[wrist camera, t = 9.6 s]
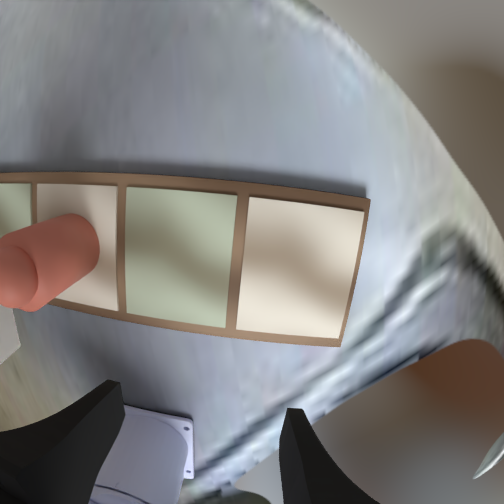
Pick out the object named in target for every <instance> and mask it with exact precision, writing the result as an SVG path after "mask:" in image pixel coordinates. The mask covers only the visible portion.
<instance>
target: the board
mask: <svg viewBox="0 0 504 504" xmlns="http://www.w3.org/2000/svg"><path fill="white" fill-rule="evenodd" d="M370 201H371V199H368V198H363V197H356V196H350V195H344V194H337V193H331V192H324V191H317V190H309V189H302V188H294V187H286V186H278V185H270V184H261V183H252V182H242V181H232V180H222V179H210V178H198V177H185V176H170V175H154V174H134V173H108V172H9V173H0V239H1V238H2V237H3V236H4V235H5V234H8V233H10V232H13V231H16V230H19V229H22V228H25V227H28V226H30V225H33V224H36V223H39V222H43V221H46V220H49V219H52V218H55V217H58V216H61V215H65V214H69V213H73V214H77V215H80V216H82V217H84V218H85V219H86V220H87V221H88V222H89V223H90V224H91V225H92V226H93V228H94V230H95V231H96V234H97V236H98V240H99V245H100V255H99V259H98V262H97V265H96V266H95V268H94V269H93V270H92V271H91V272H90V273H89V274H87V275H86V276H84V277H83V278H81V279H80V280H79V281H77V282H76V283H74V284H73V285H72V286H70V287H69V288H67V289H66V290H65V291H63V292H62V293H60V294H59V295H58V296H56V297H55V298H54V299H52V300H51V301H49V302H48V303H47V304H50V305H54V306H58V307H62V308H66V309H71V310H75V311H79V312H84V313H88V314H93V315H97V316H102V317H107V318H112V319H117V320H122V321H127V322H132V323H137V324H143V325H149V326H154V327H160V328H166V329H172V330H179V331H185V332H192V333H199V334H206V335H213V336H221V337H229V338H237V339H246V340H255V341H264V342H275V343H286V344H298V345H311V346H327V347H340V346H341V342H342V338H343V335H344V331H345V327H346V323H347V319H348V315H349V310H350V306H351V302H352V297H353V293H354V289H355V284H356V279H357V274H358V270H359V265H360V260H361V254H362V249H363V244H364V238H365V232H366V227H367V221H368V214H369V208H370Z"/></svg>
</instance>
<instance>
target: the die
mask: <svg viewBox="0 0 504 504" xmlns="http://www.w3.org/2000/svg"><path fill="white" fill-rule="evenodd" d="M20 347H21V344H20V340H19V336H18V332H17V327H16V323H15V318H14V313H13V308H7V307H4V306H2V305H0V364H1V363H3V362H4V361H5V360H6V359H7V358H8V357H9V356H10V355H12V354H13V353H14V352H15V351H16V350H17V349H18V348H20Z"/></svg>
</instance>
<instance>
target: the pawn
mask: <svg viewBox="0 0 504 504" xmlns="http://www.w3.org/2000/svg"><path fill="white" fill-rule="evenodd" d="M99 255H100V245H99V240H98V236H97V234H96V231H95V230H94V228H93V226H92V225H91V224H90V223H89V222H88V221H87V220H86V219H85V218H84V217H82V216H80V215H77V214H73V213H69V214H65V215H61V216H58V217H55V218H52V219H49V220H46V221H43V222H39V223H36V224H33V225H30V226H28V227H25V228H22V229H19V230H16V231H13V232H10V233H8V234H5V235H4V236H3V237H2V238H1V239H0V305H2V306H4V307H7V308H19V309H21V310H24V311H27V312H33V311H37V310H39V309H40V308H41V307H43V306H44V305H45V304H47V303H48V302H49V301H51V300H52V299H54V298H55V297H56V296H58V295H59V294H60V293H62V292H63V291H65V290H66V289H67V288H69V287H70V286H72V285H73V284H74V283H76V282H77V281H79V280H80V279H81V278H83V277H84V276H86V275H87V274H89V273H90V272H91V271H92V270H93V269H94V268H95V266H96V265H97V262H98V259H99Z"/></svg>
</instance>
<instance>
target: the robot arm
mask: <svg viewBox="0 0 504 504" xmlns="http://www.w3.org/2000/svg"><path fill="white" fill-rule="evenodd" d="M187 427H188V428H187ZM279 462H280V472H281V481H282V490H283V499H284V504H380V503H378V502H377V501H375V500H374V499H373V498H371V497H370V496H368V495H367V494H366V493H365V492H364V491H362V490H361V489H360V488H359V487H358V486H357V485H355V484H354V483H353V482H352V481H351V480H350V479H349V478H348V477H347V476H346V475H345V474H344V473H343V472H342V470H341V469H340V468H339V467H338V466H337V465H336V463H335V462H334V461H333V459H332V458H331V457H330V455H329V454H328V453H327V451H326V450H325V448H324V447H323V445H322V444H321V442H320V441H319V439H318V437H317V436H316V434H315V432H314V430H313V429H312V427H311V425H310V423H309V421H308V419H307V417H306V415H305V413H304V411H303V410H302V409H297V408H287V412H286V416H285V420H284V424H283V427H282V431H281V435H280V441H279ZM183 478H188V479H193V478H194V446H193V421H192V420H190V419H188V418H182V417H177V416H171V415H166V414H161V413H157V412H152V411H147V410H143V409H139V408H135V407H131V406H127V405H124V404H123V398H122V392H121V386H120V383H119V382H115V381H112V380H106V381H105V382H103V383H102V384H101V385H99V386H98V387H96V388H95V389H94V390H92V391H91V392H89V393H88V394H86V395H85V396H84V397H82V398H81V399H79V400H78V401H76V402H75V403H73V404H71V405H70V406H68V407H66V408H65V409H63V410H61V411H60V412H58V413H56V414H54V415H52V416H50V417H48V418H45V419H43V420H41V421H38V422H36V423H33V424H30V425H27V426H24V427H21V428H17V429H13V430H8V431H3V432H0V504H177V503H178V499H179V495H180V490H181V486H182V482H183Z"/></svg>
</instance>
